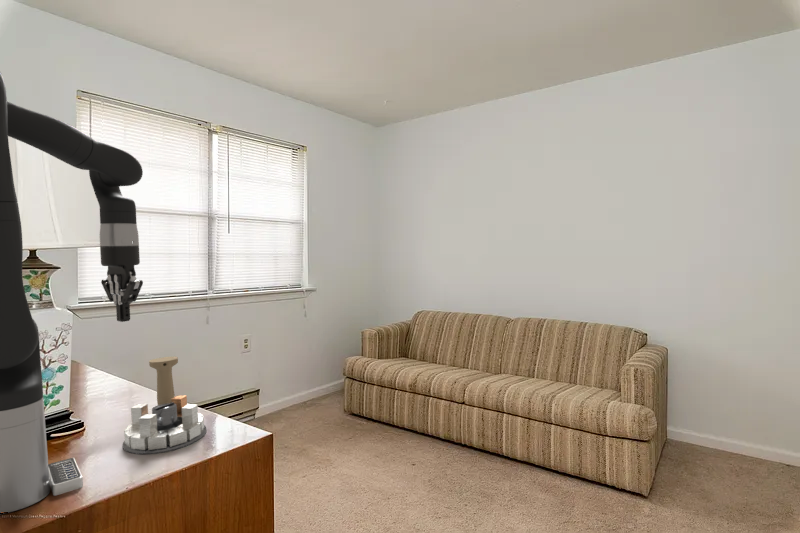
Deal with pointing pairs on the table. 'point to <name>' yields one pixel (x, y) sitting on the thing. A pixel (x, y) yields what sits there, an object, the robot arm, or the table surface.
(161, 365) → the handle
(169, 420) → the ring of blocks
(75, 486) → the multiport hub
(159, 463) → the table surface
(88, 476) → the table surface
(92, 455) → the table surface
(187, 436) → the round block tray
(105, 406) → the table surface
